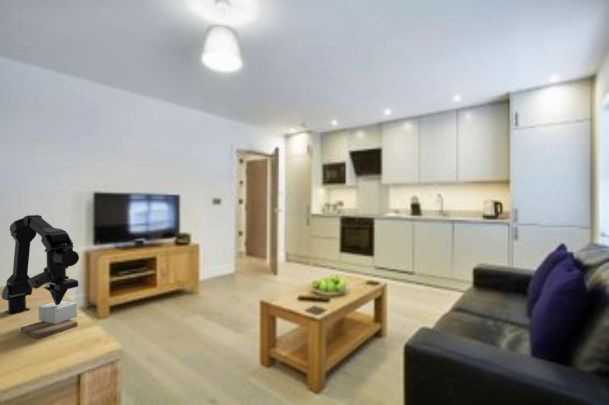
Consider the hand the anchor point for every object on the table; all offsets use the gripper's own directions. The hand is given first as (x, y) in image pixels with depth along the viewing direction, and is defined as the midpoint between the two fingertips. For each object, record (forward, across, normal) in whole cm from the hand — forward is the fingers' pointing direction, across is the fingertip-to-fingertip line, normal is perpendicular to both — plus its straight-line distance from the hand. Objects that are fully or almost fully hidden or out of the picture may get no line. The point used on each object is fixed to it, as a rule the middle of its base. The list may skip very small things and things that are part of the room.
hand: (57, 304), depth 123 cm
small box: (+3, -8, +1) cm, 8 cm away
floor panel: (+8, +2, -4) cm, 9 cm away
